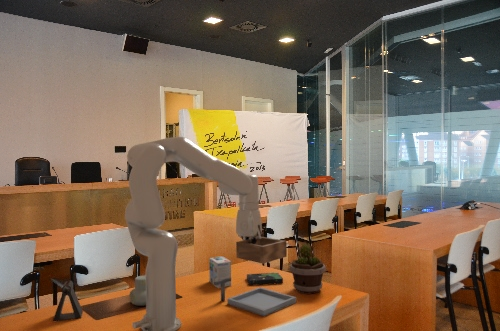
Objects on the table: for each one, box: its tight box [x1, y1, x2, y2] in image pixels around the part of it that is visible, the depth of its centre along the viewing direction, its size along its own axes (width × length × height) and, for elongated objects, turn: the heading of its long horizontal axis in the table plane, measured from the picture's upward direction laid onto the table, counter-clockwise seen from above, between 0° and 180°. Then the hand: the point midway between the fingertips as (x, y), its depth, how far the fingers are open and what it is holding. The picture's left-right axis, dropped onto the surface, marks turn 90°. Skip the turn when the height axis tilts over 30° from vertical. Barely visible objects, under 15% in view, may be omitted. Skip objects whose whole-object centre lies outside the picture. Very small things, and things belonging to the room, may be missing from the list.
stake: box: [213, 277, 232, 303], centre depth 156 cm, size 8×2×8 cm, turn 136°
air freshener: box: [129, 274, 146, 307], centre depth 155 cm, size 11×8×10 cm
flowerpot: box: [289, 240, 327, 295], centre depth 168 cm, size 14×15×20 cm
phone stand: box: [52, 280, 84, 322], centre depth 142 cm, size 9×6×12 cm, turn 106°
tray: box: [226, 287, 297, 317], centre depth 153 cm, size 18×18×2 cm
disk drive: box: [246, 272, 284, 286], centre depth 181 cm, size 10×3×15 cm
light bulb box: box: [208, 255, 232, 289], centre depth 178 cm, size 11×7×11 cm, turn 25°
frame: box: [235, 236, 288, 265], centre depth 153 cm, size 13×13×6 cm
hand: (249, 253), depth 157 cm, fingers closed on frame, 1 cm apart
